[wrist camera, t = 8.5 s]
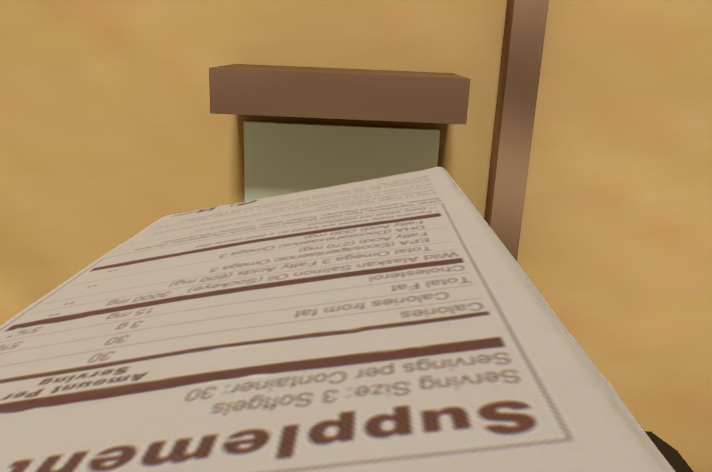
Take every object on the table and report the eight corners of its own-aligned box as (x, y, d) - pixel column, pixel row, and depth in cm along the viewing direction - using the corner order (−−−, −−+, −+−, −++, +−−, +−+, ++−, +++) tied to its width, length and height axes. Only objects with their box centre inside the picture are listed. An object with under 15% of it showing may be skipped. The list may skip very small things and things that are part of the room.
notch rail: (229, -331, 17) (195, -423, 14) (578, -318, 17) (629, -406, 14) (243, 600, 27) (225, 680, 23) (467, 611, 27) (481, 692, 23)
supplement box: (486, 424, 17) (779, 1338, 5) (220, 460, 17) (-128, 1373, 5) (451, 156, 15) (792, 536, 3) (154, 204, 16) (-626, 705, 3)
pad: (245, 121, 21) (243, 121, 20) (439, 129, 21) (440, 130, 20) (247, 340, 23) (246, 344, 23) (421, 348, 23) (422, 352, 23)
